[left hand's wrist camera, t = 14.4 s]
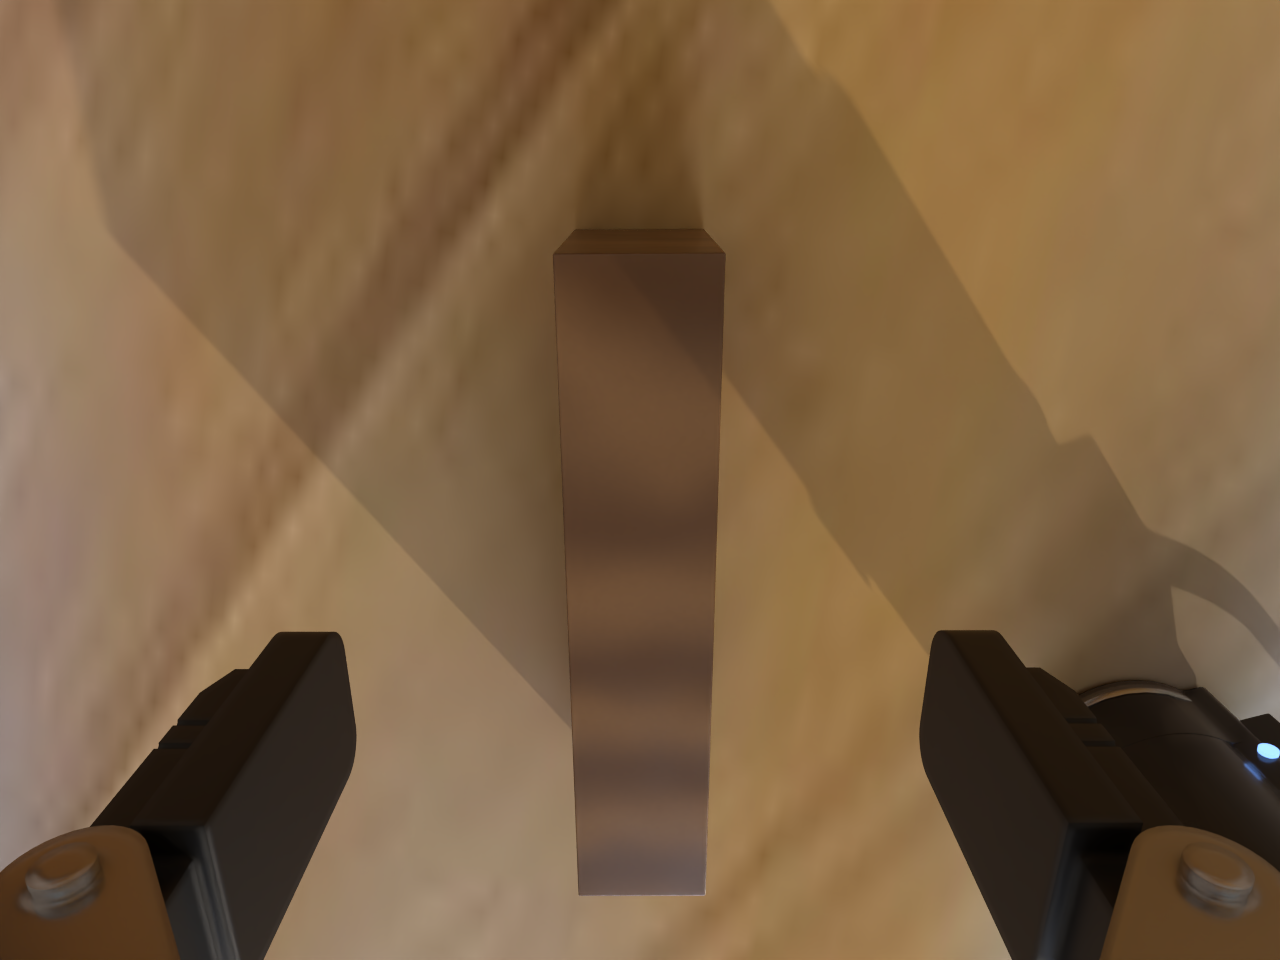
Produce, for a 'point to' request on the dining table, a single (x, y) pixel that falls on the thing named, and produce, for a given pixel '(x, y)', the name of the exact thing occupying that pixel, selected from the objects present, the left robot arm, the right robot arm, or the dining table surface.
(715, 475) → the bar
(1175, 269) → the dining table surface
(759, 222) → the dining table surface
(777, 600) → the dining table surface
